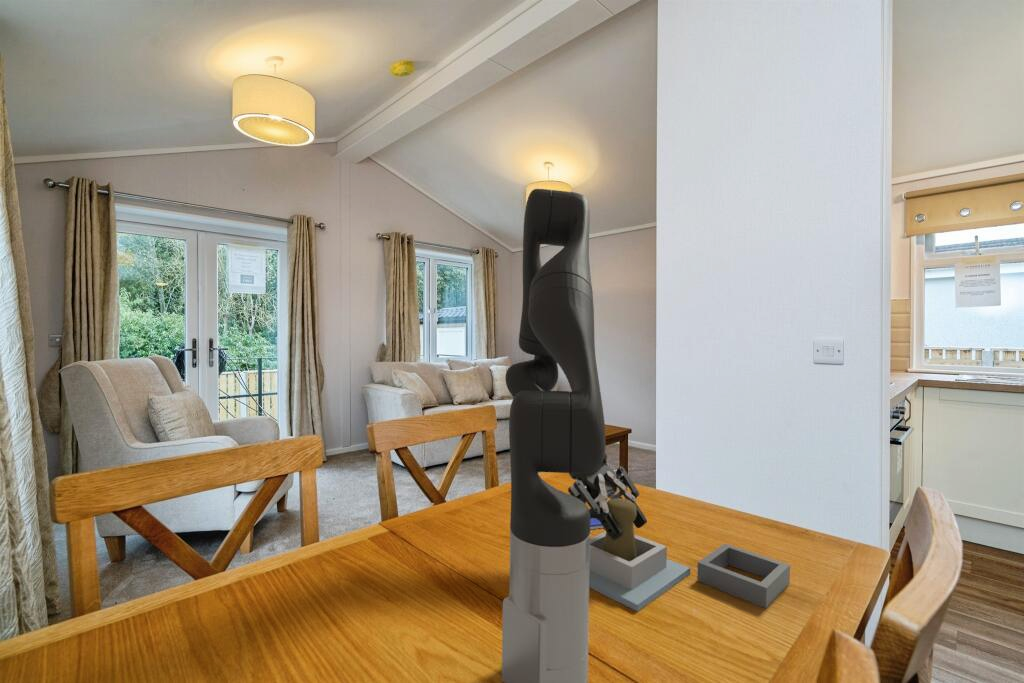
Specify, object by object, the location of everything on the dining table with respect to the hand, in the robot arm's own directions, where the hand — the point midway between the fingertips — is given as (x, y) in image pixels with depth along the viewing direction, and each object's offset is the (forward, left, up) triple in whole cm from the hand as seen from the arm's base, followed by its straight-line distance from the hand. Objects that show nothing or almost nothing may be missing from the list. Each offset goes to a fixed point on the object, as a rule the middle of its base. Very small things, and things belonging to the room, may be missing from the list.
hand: (631, 530), depth 78 cm
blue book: (+15, +18, -8) cm, 25 cm away
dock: (0, +2, -7) cm, 8 cm away
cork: (0, +2, -7) cm, 7 cm away
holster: (+12, -13, -7) cm, 19 cm away
